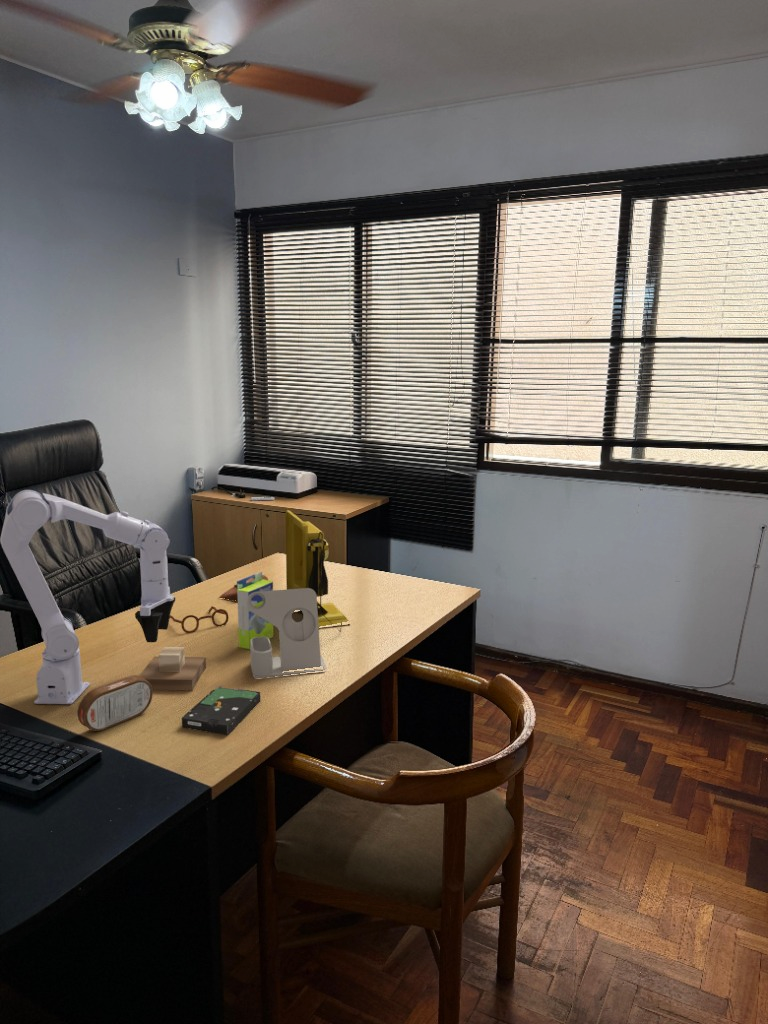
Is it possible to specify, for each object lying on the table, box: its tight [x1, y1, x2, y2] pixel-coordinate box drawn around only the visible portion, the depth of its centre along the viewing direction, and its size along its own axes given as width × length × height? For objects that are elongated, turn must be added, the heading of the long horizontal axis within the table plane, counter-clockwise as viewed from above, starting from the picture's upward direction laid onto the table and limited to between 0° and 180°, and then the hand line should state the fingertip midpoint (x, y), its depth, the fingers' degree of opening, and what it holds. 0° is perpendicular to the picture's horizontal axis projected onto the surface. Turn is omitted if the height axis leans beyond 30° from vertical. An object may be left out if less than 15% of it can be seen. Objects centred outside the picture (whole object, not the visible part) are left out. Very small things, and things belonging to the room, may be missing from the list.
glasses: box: [169, 605, 229, 634], centre depth 193 cm, size 13×13×5 cm
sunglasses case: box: [218, 574, 269, 602], centre depth 219 cm, size 18×7×7 cm
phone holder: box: [247, 588, 328, 679], centre depth 165 cm, size 17×10×18 cm, turn 105°
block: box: [158, 646, 186, 672], centre depth 158 cm, size 4×4×4 cm
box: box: [236, 571, 274, 650], centre depth 179 cm, size 10×4×17 cm, turn 152°
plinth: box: [139, 656, 207, 691], centre depth 159 cm, size 12×12×2 cm
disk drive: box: [181, 685, 261, 736], centre depth 144 cm, size 10×3×15 cm
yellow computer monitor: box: [285, 509, 349, 633], centre depth 194 cm, size 31×14×30 cm, turn 22°
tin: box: [76, 674, 154, 732], centre depth 139 cm, size 15×3×8 cm, turn 141°
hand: (157, 635), depth 160 cm, fingers open, 7 cm apart
